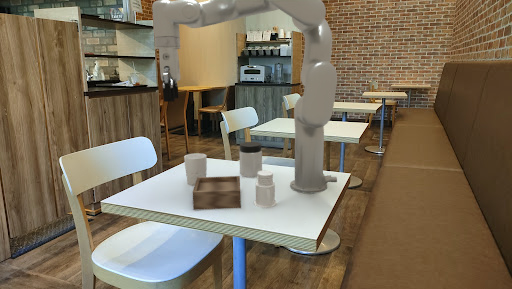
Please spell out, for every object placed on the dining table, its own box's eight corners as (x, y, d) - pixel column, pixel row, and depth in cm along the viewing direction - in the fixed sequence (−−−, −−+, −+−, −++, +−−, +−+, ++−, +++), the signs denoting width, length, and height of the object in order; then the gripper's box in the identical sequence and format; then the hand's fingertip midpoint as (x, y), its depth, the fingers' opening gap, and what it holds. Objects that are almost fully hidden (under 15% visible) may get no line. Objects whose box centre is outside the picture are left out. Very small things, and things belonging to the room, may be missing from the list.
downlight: (251, 199, 113) (250, 169, 110) (272, 197, 115) (272, 167, 112) (257, 210, 106) (257, 178, 103) (280, 207, 107) (280, 176, 105)
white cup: (203, 186, 126) (202, 159, 123) (182, 185, 127) (180, 158, 125) (210, 179, 133) (209, 153, 131) (190, 178, 135) (189, 152, 132)
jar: (249, 179, 133) (249, 147, 130) (235, 174, 139) (234, 144, 136) (266, 173, 139) (266, 143, 137) (252, 169, 145) (251, 140, 142)
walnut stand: (240, 191, 120) (239, 175, 119) (240, 208, 107) (240, 190, 105) (198, 193, 120) (197, 177, 118) (193, 209, 106) (192, 192, 105)
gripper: (176, 42, 102) (180, 102, 106) (183, 45, 119) (186, 97, 123) (149, 42, 102) (154, 103, 105) (160, 45, 118) (163, 97, 122)
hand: (171, 99), depth 114 cm, fingers open, 9 cm apart
